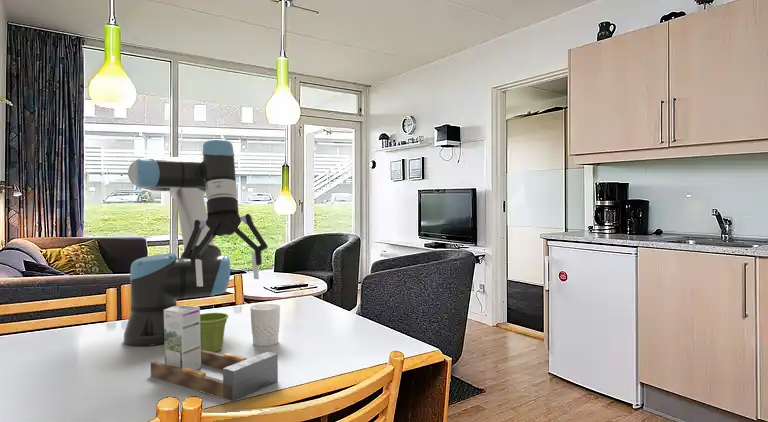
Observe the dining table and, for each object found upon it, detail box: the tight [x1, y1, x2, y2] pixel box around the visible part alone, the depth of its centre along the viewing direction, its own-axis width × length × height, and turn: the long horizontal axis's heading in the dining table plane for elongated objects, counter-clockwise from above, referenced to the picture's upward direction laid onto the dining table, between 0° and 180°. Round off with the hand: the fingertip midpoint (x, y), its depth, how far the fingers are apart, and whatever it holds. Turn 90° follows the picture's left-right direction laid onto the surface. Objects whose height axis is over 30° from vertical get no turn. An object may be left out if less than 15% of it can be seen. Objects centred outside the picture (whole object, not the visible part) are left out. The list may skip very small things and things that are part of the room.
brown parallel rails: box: [150, 349, 248, 402], centre depth 105 cm, size 26×12×4 cm, turn 59°
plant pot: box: [200, 312, 229, 353], centre depth 124 cm, size 9×9×9 cm
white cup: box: [249, 302, 281, 347], centre depth 130 cm, size 8×8×10 cm
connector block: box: [222, 351, 279, 402], centre depth 98 cm, size 3×12×6 cm, turn 149°
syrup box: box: [164, 304, 202, 371], centre depth 110 cm, size 6×6×14 cm
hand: (228, 282), depth 118 cm, fingers open, 13 cm apart
